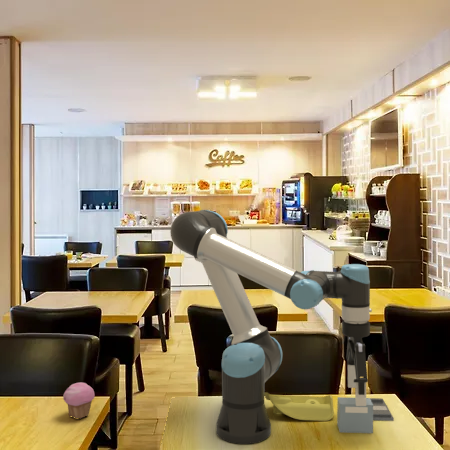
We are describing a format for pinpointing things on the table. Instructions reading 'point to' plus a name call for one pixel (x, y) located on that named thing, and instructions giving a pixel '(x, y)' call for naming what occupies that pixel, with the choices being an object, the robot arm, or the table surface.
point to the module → (354, 416)
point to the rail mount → (381, 410)
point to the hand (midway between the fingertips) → (356, 396)
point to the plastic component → (303, 406)
